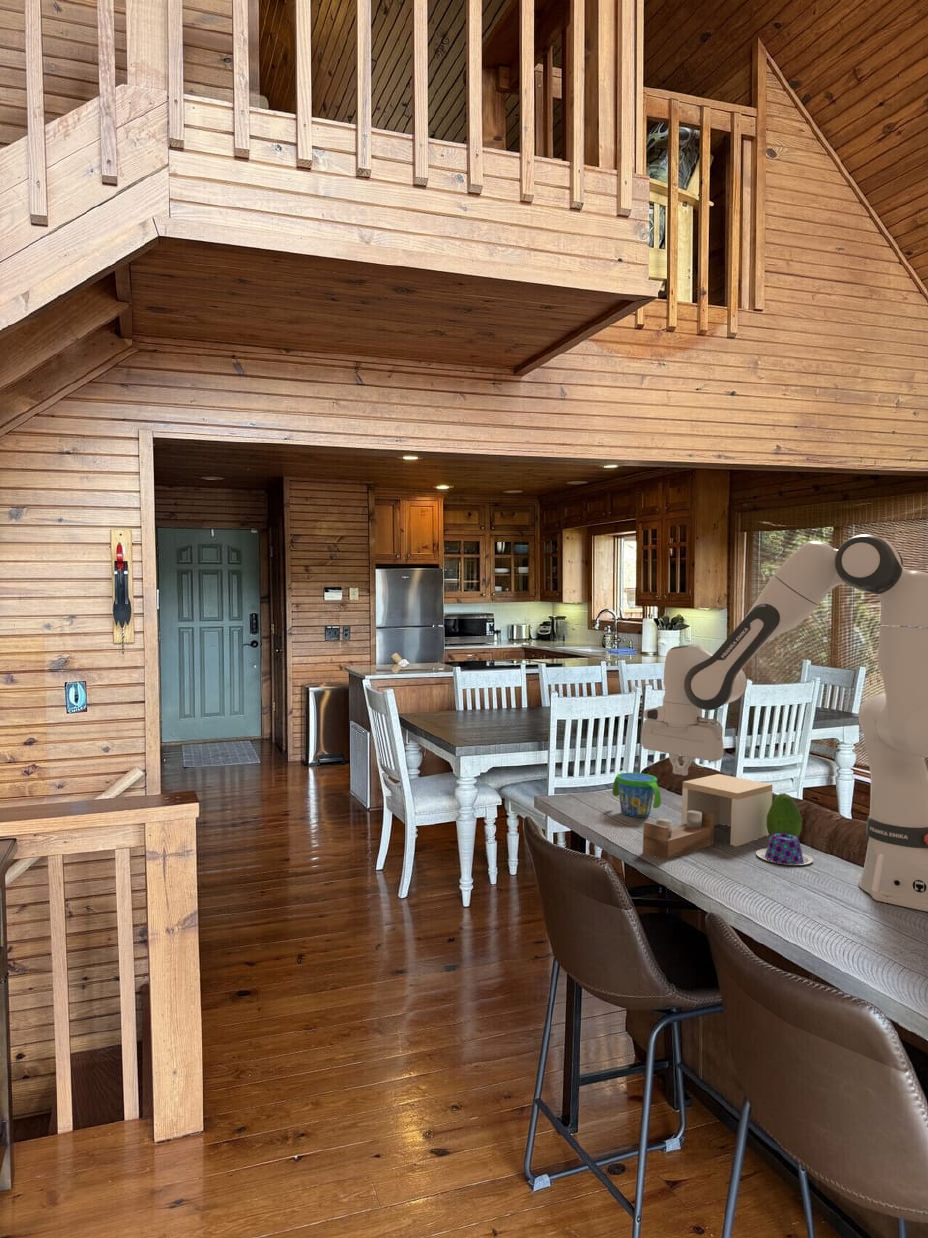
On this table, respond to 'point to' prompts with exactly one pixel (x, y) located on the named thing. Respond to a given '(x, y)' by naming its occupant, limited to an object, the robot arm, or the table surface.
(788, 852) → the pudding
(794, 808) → the avocado
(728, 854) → the table surface
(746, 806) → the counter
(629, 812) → the snack cup
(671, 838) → the tray
